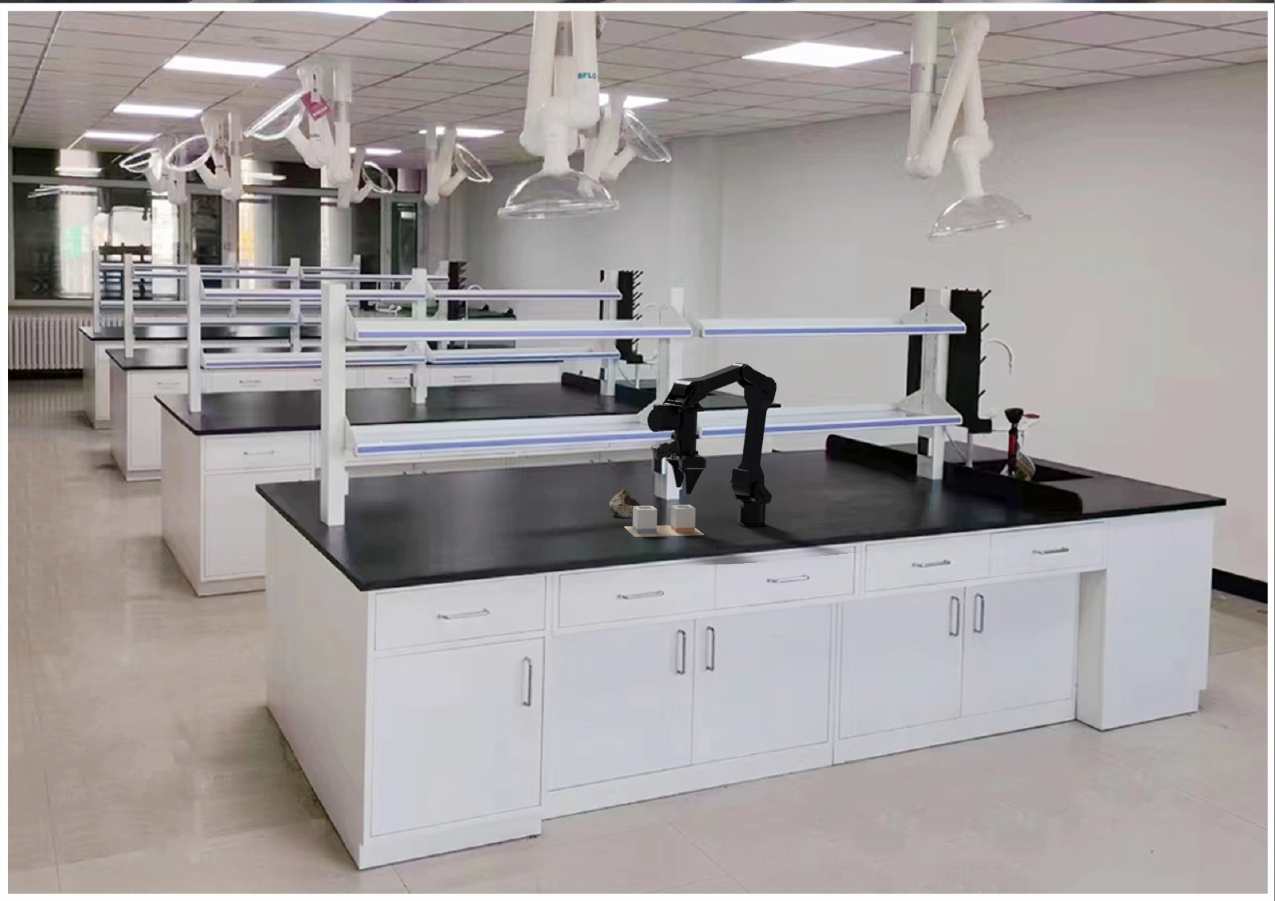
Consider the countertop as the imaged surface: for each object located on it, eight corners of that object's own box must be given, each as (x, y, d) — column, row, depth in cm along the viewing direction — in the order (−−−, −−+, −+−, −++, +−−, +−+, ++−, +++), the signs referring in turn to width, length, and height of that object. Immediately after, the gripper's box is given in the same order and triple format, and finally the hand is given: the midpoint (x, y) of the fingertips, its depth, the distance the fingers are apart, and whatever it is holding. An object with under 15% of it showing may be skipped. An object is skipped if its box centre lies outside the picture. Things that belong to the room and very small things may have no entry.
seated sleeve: (651, 528, 325) (652, 505, 324) (656, 533, 320) (657, 509, 319) (632, 529, 324) (633, 506, 323) (637, 533, 319) (637, 510, 318)
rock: (645, 509, 348) (617, 487, 346) (656, 503, 341) (627, 480, 340) (629, 534, 344) (600, 511, 342) (639, 528, 337) (610, 505, 336)
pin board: (691, 529, 331) (691, 513, 330) (704, 539, 319) (704, 523, 319) (623, 531, 327) (624, 515, 326) (634, 541, 315) (634, 525, 315)
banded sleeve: (689, 527, 327) (690, 504, 326) (694, 531, 322) (695, 508, 321) (670, 528, 326) (671, 505, 325) (675, 532, 321) (676, 509, 320)
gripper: (645, 424, 327) (643, 484, 329) (663, 435, 309) (661, 498, 312) (687, 424, 330) (685, 484, 332) (707, 434, 312) (705, 497, 314)
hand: (683, 490), depth 322 cm, fingers open, 9 cm apart
